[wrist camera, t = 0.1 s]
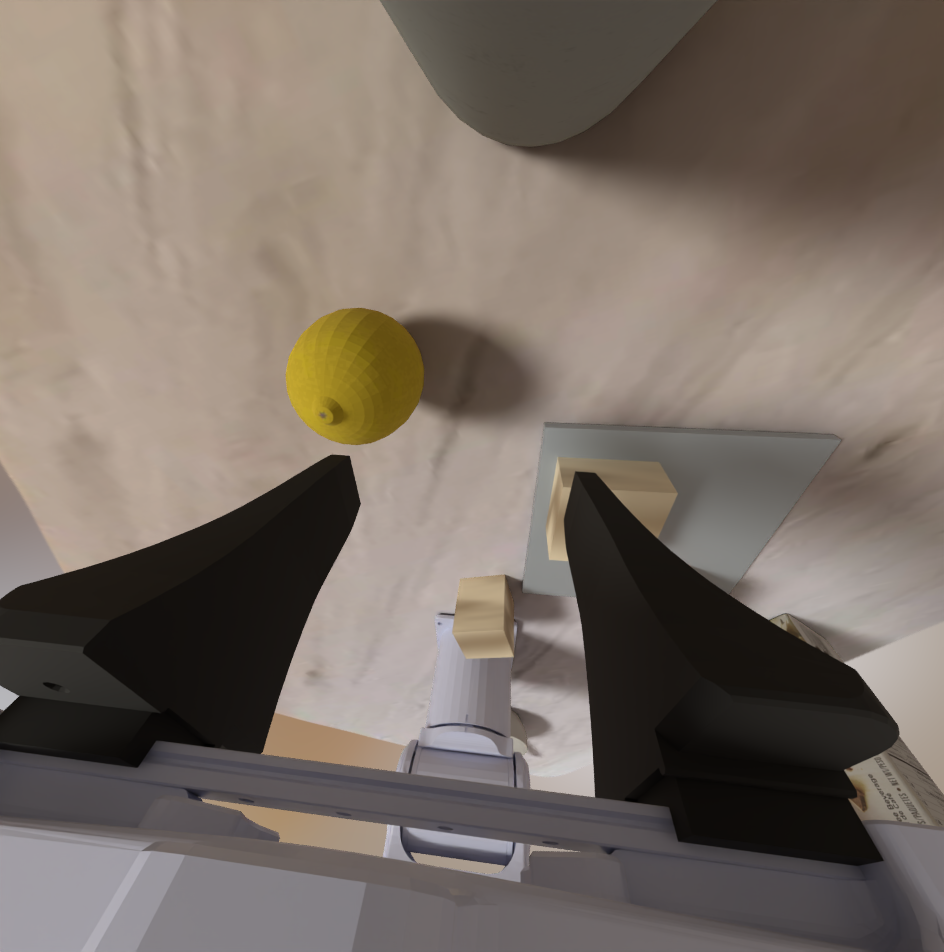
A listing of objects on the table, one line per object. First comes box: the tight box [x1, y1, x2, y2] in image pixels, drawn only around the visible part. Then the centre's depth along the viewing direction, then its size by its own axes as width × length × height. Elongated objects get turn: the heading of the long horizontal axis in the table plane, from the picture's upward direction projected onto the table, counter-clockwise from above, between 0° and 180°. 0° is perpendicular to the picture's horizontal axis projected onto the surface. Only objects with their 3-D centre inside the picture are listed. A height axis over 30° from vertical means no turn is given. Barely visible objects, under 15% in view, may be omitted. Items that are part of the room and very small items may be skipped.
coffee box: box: [769, 614, 944, 827], centre depth 26 cm, size 9×6×16 cm
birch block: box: [452, 575, 514, 659], centre depth 29 cm, size 4×4×5 cm
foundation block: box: [546, 457, 678, 561], centre depth 22 cm, size 6×6×3 cm
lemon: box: [286, 308, 424, 445], centre depth 16 cm, size 6×6×8 cm
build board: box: [522, 423, 841, 597], centre depth 24 cm, size 16×16×1 cm
